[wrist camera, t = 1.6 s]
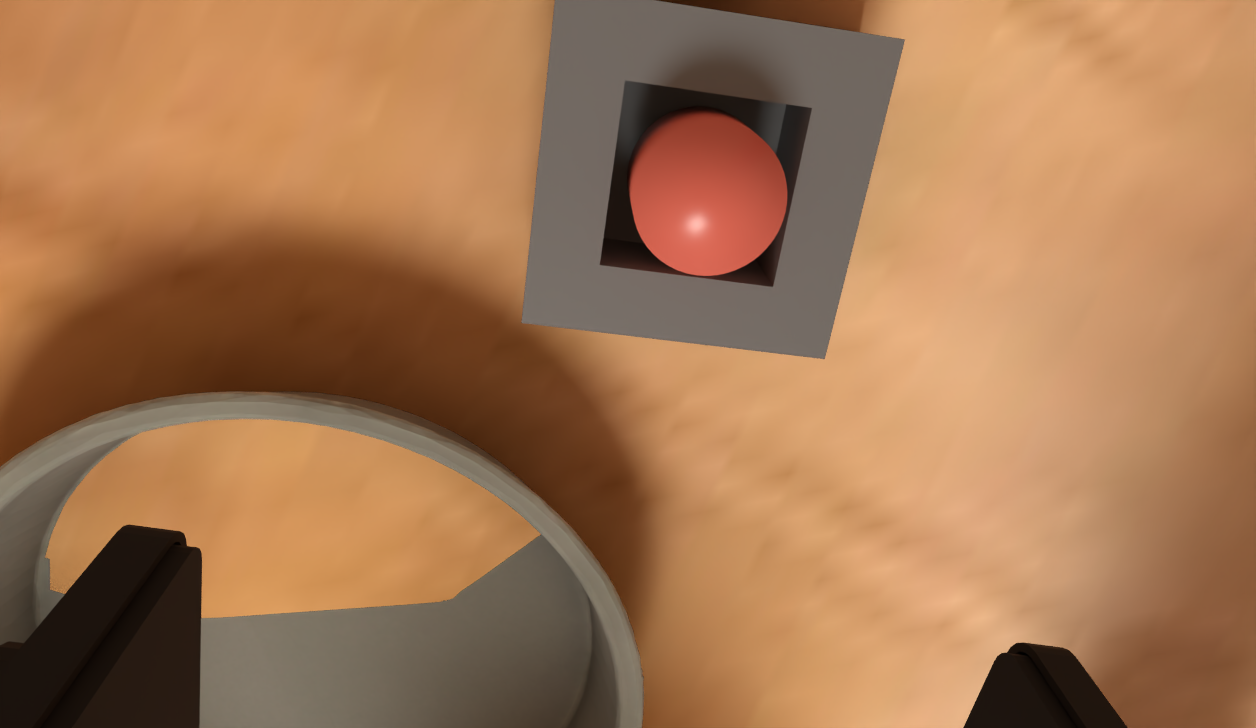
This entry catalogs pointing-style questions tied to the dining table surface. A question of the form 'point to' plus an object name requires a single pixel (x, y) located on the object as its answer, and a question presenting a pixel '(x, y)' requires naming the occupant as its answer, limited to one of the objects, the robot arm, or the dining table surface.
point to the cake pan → (374, 636)
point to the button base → (742, 86)
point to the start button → (705, 191)
